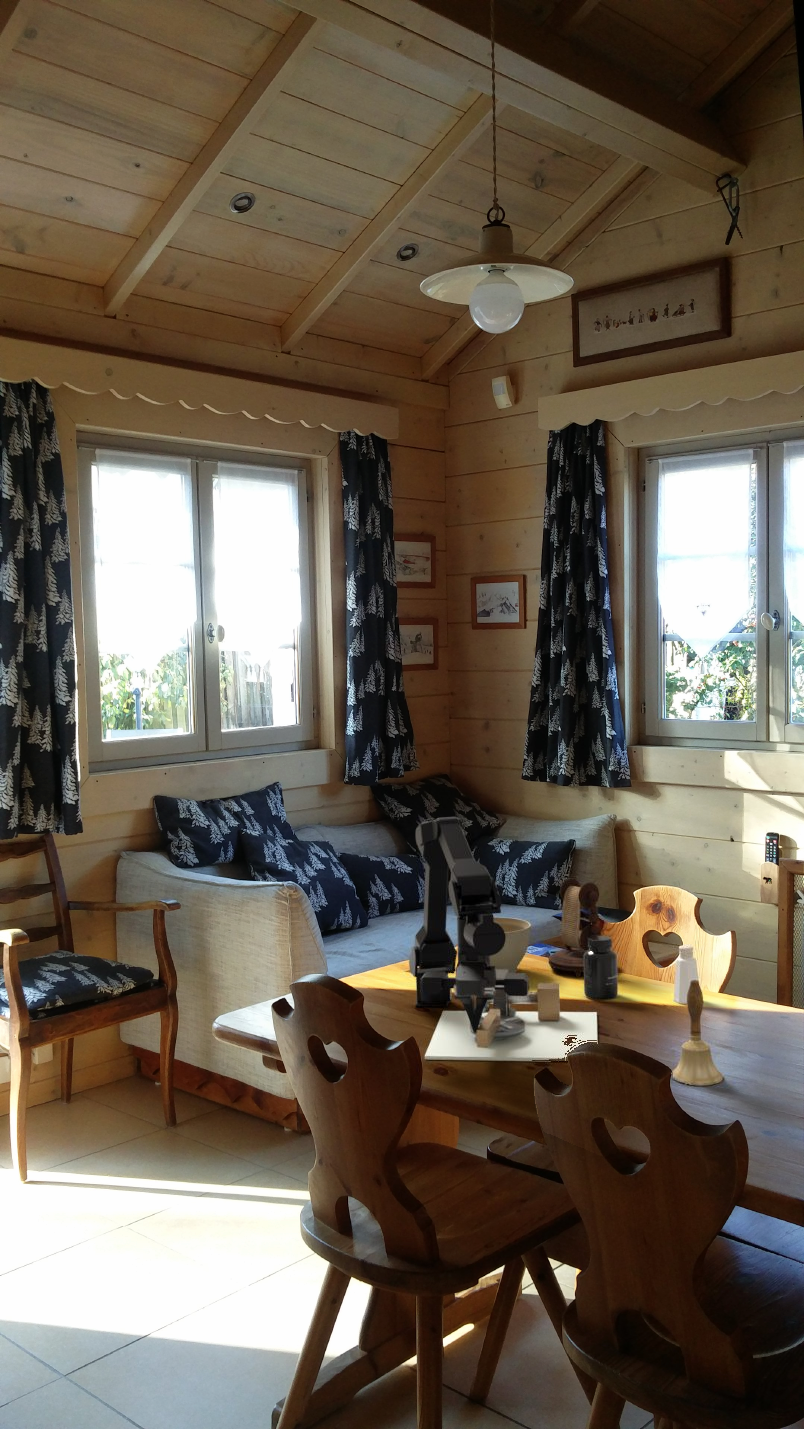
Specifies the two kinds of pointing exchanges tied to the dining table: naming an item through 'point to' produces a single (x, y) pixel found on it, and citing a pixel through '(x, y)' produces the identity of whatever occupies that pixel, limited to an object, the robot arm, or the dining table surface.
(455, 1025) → the white board
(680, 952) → the pepper shaker
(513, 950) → the planter bowl
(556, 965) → the brown upright piece
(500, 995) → the iron eye
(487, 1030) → the handwheel
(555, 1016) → the wooden mallet
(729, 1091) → the dining table surface
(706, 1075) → the hand bell
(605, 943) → the supplement bottle
